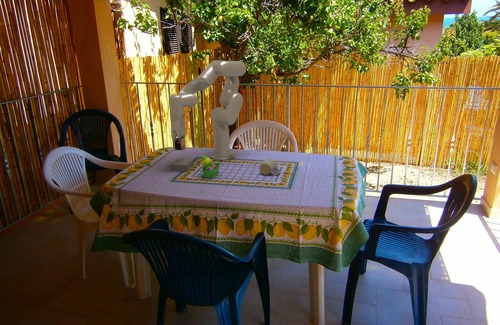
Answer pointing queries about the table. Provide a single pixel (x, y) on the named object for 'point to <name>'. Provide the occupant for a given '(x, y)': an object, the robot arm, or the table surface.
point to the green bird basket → (209, 167)
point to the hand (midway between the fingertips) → (180, 148)
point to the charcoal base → (181, 165)
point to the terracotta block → (181, 143)
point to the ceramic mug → (269, 167)
